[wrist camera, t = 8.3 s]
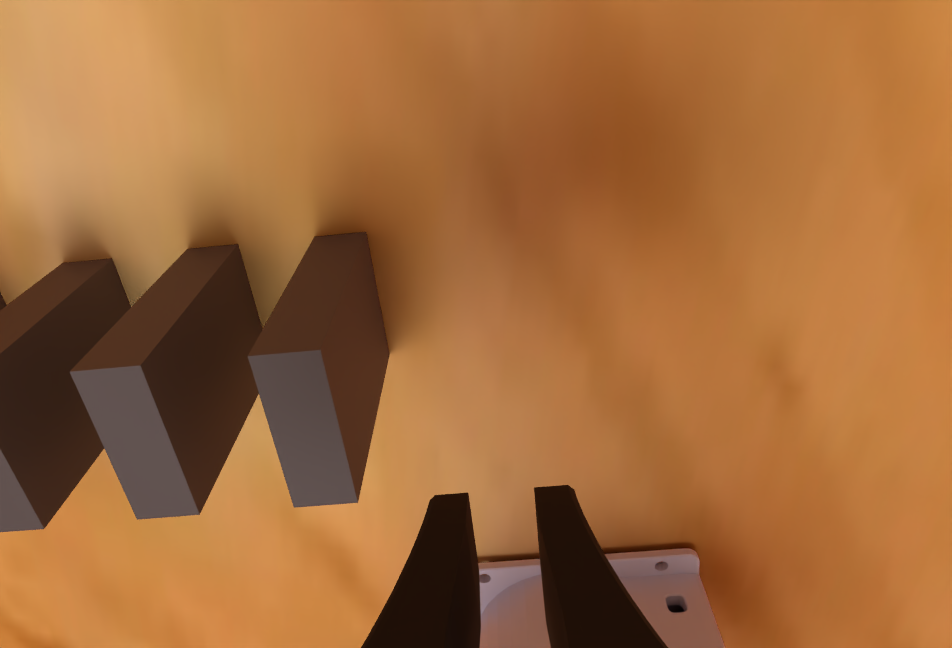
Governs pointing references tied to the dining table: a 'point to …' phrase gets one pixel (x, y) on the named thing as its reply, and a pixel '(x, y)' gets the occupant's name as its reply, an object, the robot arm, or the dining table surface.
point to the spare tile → (50, 388)
